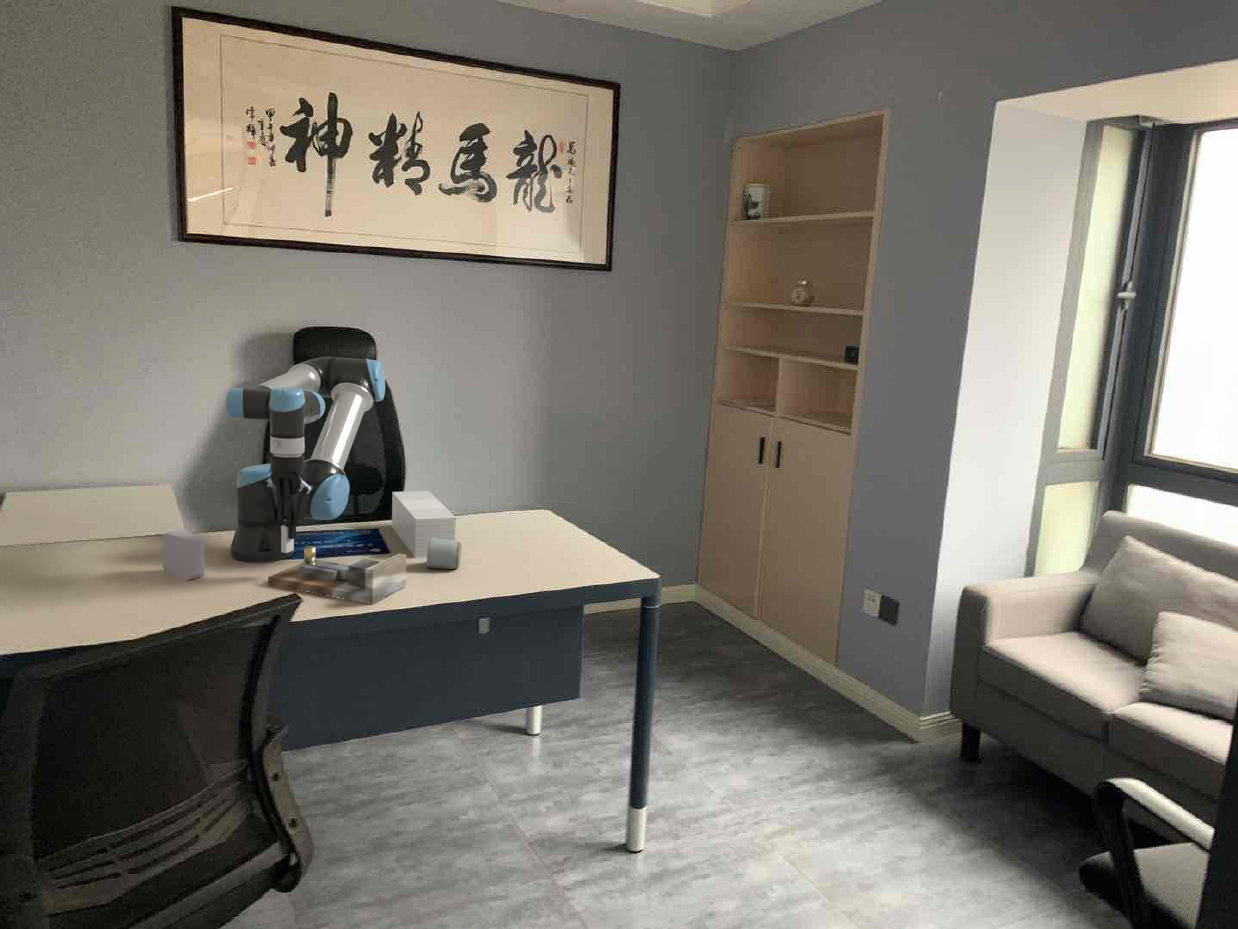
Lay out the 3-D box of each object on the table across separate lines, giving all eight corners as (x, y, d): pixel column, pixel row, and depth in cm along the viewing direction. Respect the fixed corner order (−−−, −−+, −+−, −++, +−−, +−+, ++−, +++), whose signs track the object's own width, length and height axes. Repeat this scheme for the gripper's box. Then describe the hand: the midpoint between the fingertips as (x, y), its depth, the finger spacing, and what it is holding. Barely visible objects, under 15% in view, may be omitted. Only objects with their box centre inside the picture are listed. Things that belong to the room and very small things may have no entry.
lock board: (268, 585, 213) (267, 552, 211) (305, 569, 226) (306, 537, 224) (372, 604, 204) (373, 570, 203) (405, 587, 218) (406, 554, 216)
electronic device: (207, 577, 215) (206, 536, 214) (189, 581, 211) (188, 540, 210) (181, 568, 220) (180, 528, 218) (163, 572, 216) (162, 532, 214)
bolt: (301, 572, 216) (301, 547, 215) (308, 569, 218) (308, 545, 217) (345, 580, 213) (345, 555, 211) (351, 577, 215) (352, 552, 214)
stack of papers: (391, 527, 269) (392, 491, 267) (427, 525, 274) (428, 490, 272) (414, 558, 241) (415, 519, 239) (454, 556, 245) (455, 517, 243)
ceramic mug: (459, 572, 231) (460, 543, 230) (426, 571, 230) (427, 542, 229) (461, 561, 241) (462, 532, 240) (430, 559, 240) (431, 531, 239)
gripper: (253, 453, 212) (254, 551, 216) (300, 459, 208) (300, 559, 212) (274, 448, 219) (275, 543, 223) (320, 455, 215) (320, 551, 220)
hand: (287, 551), depth 218 cm, fingers closed
